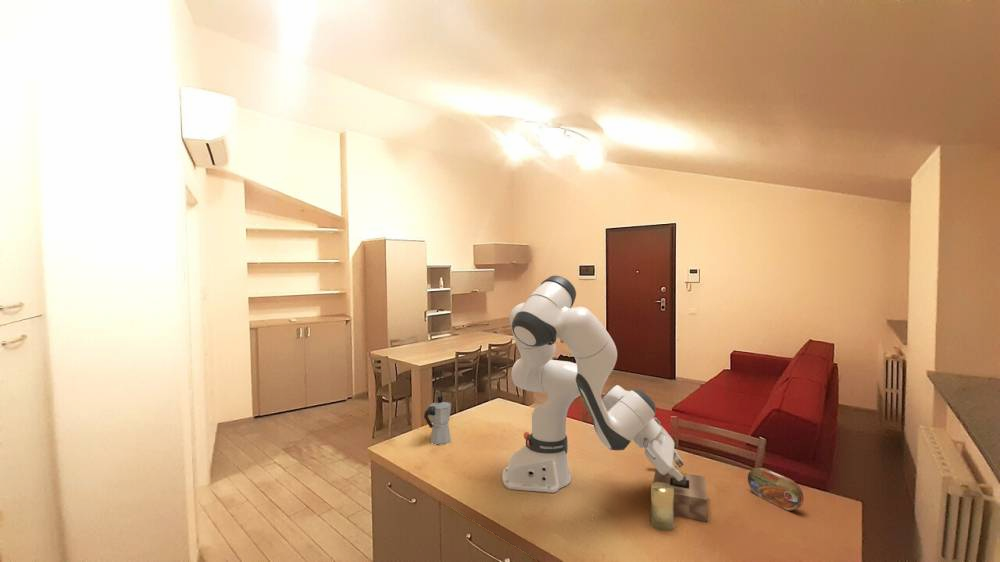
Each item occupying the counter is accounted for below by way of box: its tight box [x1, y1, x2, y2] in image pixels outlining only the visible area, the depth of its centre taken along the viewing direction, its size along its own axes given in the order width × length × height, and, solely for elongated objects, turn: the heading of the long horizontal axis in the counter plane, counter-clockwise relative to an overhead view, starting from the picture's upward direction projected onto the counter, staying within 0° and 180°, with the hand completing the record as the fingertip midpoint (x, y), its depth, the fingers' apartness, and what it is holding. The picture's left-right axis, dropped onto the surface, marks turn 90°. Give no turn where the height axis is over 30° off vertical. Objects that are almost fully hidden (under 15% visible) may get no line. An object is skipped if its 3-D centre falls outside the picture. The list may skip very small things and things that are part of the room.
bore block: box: [652, 468, 708, 522], centre depth 124 cm, size 14×14×6 cm
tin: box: [747, 467, 804, 511], centre depth 124 cm, size 15×3×8 cm, turn 24°
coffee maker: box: [423, 395, 452, 446], centre depth 170 cm, size 15×9×18 cm, turn 144°
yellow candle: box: [650, 482, 675, 531], centre depth 114 cm, size 6×6×10 cm
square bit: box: [673, 465, 687, 488], centre depth 124 cm, size 4×4×10 cm
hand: (681, 471), depth 124 cm, fingers open, 8 cm apart
